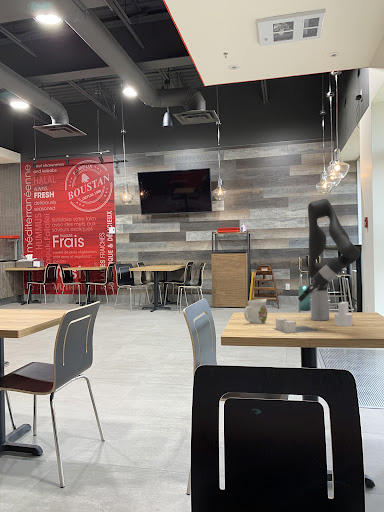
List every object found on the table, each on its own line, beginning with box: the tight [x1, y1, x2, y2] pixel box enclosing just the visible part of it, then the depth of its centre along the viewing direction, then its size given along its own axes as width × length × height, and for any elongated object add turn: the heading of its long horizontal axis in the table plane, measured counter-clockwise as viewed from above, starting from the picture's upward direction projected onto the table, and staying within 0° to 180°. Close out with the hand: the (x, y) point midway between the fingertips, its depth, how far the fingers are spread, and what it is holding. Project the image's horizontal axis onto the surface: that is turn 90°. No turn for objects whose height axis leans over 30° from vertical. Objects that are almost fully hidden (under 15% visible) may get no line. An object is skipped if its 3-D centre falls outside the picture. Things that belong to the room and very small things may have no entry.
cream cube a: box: [284, 320, 297, 334], centre depth 205 cm, size 4×4×5 cm
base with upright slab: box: [334, 301, 353, 327], centre depth 230 cm, size 9×9×12 cm
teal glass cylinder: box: [298, 285, 311, 312], centre depth 212 cm, size 6×6×12 cm
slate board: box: [272, 325, 321, 335], centre depth 211 cm, size 19×14×2 cm
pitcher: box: [243, 298, 268, 325], centre depth 233 cm, size 11×18×14 cm, turn 131°
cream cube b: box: [275, 317, 288, 331], centre depth 213 cm, size 4×4×5 cm
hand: (301, 299), depth 213 cm, fingers closed on teal glass cylinder, 5 cm apart
